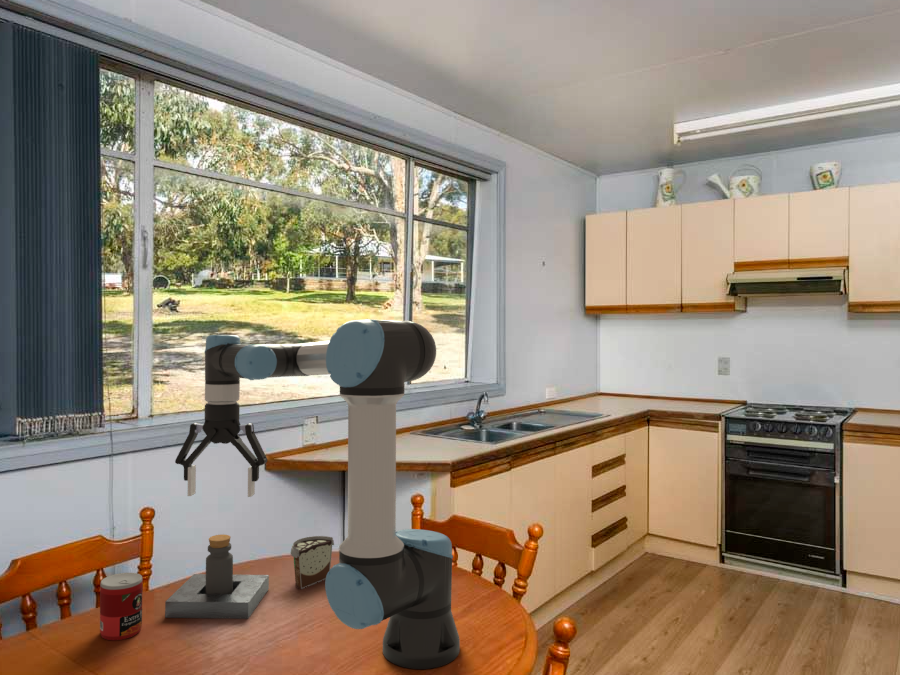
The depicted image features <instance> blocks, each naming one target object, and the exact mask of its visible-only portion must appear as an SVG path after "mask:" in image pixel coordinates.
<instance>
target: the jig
mask: <svg viewBox="0 0 900 675" xmlns="http://www.w3.org/2000/svg"><path fill="white" fill-rule="evenodd" d="M269 575H270V574H233V593H232V594H206V573H194V574H192V575H191V577H189V578H188V579H187V580H186V581H185V582H184V583H182V585H181V586H180V587H179V588H178V589H176V591H175V592H173V594H172V595H170V597H169V598H168V599H166V600H165V602H164V603H165V604H164V607H165V608H164V609H165V610H164V618H169V619H172V618H174V619H177V618H178V619H243V620H244V619H245V620H249V619H250V617H251V615H252V614H253V612H254V611H255V610H256V608H257V607H258V605H259V604H260V603H259V602H262V600H263V598H264V597H265V595H266V594H267V592H268V591H269V590H270V589H269V586H270V585H269V584H270V583H269V582H270V580H269V578H270V576H269ZM268 589H269V590H268Z"/></svg>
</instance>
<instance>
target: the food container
mask: <svg viewBox="0 0 900 675" xmlns="http://www.w3.org/2000/svg"><path fill="white" fill-rule="evenodd" d="M333 546H335V542H334V537H332V536H325V535H315V536H314V535H313V536H306V537H302V538H299V539H297V540H295V541H294V542H293V543H292V545H291V549H290V555H291V556H292V557H293V566H294V568H293V569H294V580H295V586H297V587H296V588H298V589H299V588H300V590H303V589H305V587H306V588H308V587H310V586H313V585H315V584H317V582H318V583H321V582H322V580H323V581H325V580H326V576H327V573H328V572H329V571H330V569H331V566H332V565H331V563H332V554H333V553H332V552H333ZM307 586H308V587H307Z"/></svg>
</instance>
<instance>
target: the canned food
mask: <svg viewBox="0 0 900 675" xmlns="http://www.w3.org/2000/svg"><path fill="white" fill-rule="evenodd" d="M99 587H100V588H99V590H100V591H99V632H100V636H101V638H102V639H104V640H107V641H122V640H127V639H129V638H132V637H134V636H136V635H137V634H139V633H140V632H141V629H142V627H143V575H141V574H140V573H138V572H122V573H120V572H119V573H115V574H112V575H108V576H105V577H104V578H103V579H101V581H100V585H99Z"/></svg>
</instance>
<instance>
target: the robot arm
mask: <svg viewBox="0 0 900 675" xmlns="http://www.w3.org/2000/svg"><path fill="white" fill-rule="evenodd" d="M436 357H437V345H436V342H435V339H434V337H433V335H432V333H431V332H430V331H429V330H428V329H427V328H426V327H425V326H423V325H421V324H419V323H418V322H413V321H410V320H387V319H385V320H384V319H371V318H370V319H369V318H366V319H355V320H349V321H346V322H345V323H342V324H341V325H340V326H339V327H338V328H336V331H335V332H334V333H333V334H332V336H331V337H330V339H329V340H323V341H315V342H313V341H312V342H303V343H302V342H301V343H300V342H299V343H287V344H286V343H285V344H279V343H276V344H275V343H272V344H270V343H269V344H268V343H266V344H265V343H261V344H259V343H257V344H254V343H252V344H251V343H249V344H247V343H246V344H243V343H241V338H240V336H239V335H235V334H210V335H208V336H207V337H206V339H205V350H204V382H205V383H204V401H205V402H206V403H205V404H204V423H203V424H202V423H199V422H194V423H191V424H190V425H189V433H188V435H187V436H186V439H185V441H184V443H183V445H182V447H181V448H180V450H179V452H178V454H177V456H176V458H175V460H174V462H175V465H181V466H182V467H183V481H185V482H186V481H187V497H192V496H193V495H196V482H197V481H196V478H197V477H196V474H197V473H196V472H197V469H196V468H197V467H196V466H197V465H195V464H194V462H195V461H196V460H197V459H198V458H199V456H200V455H201V454H203V452H204V450H205V449H207V448H208V446H209V445H210V444H211V443H213V444H214V445H215V444H216V445H217V444H224V445H225V444H229V443H230V444H231V445H232V446H234V447H235V449H236V450H238V452H239V453H240V454H241V456H242V457H243V458H244V459H245V461H246V462H247V463H248V464H249V465H250V466H249V467H248V468H247V498H251V497H253V496H254V495H255V490H256V489H255V488H256V482H258V480H259V479H260V466H263V465H265V464H266V463H267V462H268V458H267V456H266V454H265V451H264V450H263V447H262V445H261V443H260V441H259V440H258V437H257V436H256V435H257V434H256V432H255V427H254V423H252V422H249V423H245V424H241V422H240V404H239V402H238V401H239V400H240V391H241V390H240V388H241V387H240V386H241V385H240V381H241V379H246V380H250V381H257V380H265V379H268V378H280V377H283V378H284V377H285V378H286V377H309V376H319V375H321V376H322V375H323V376H324V375H329V378H330V379H331V380H332V381H333V383H335V384H336V385H338V386H339V396H340V397H341V398H342V399H343V400H344V401H345V402H346V404H347V408H348V409H347V413H348V414H347V416H348V417H347V418H348V420H347V423H348V424H347V428H348V429H347V430H348V431H347V537H346V538H345V539H344V540H343V541H342V542H341V543H340V544H339V549H338V550H339V552H338V555H339V556H338V558H339V559H338V561H339V562H338V563H337V564H334V565H333V566H332V567H330V571H329V572H328V573H327V576H326V579H325V580H324V581H325V582H324V584H325V585H324V586H325V587H324V588H325V595H326V598H327V599H326V600H327V602H328V604H329V606H330V608H331V610H332V611H333V612H334V614H335V616H336V618H337V619H338V620H339V621H340V622H341V623H342V624H344V626H345V625H346V627H349V628H351V629H354V630H363V629H366V628H369V627H371V626H377V625H379V624H380V623H382V622H383V621H385V620H387V619H388V622H387V626H386V628H385V631H384V635H383V638H382V654H383V656H384V658H385V659H386V660H387V661H389V662H390V663H392V664H394V665H395V666H398V667H401V668H405V669H415V670H426V669H427V670H428V669H435V668H440V667H443V666H445V665H448V664H450V663H451V662H453V661H454V660H455V659H456V658H457V657H458V656H459V654H460V647H461V646H460V643H461V642H460V639H461V638H460V635H459V633H458V629H457V626H456V623H455V619H454V617H453V616H454V615H453V612H452V591H453V590H452V586H453V585H452V584H453V582H452V581H453V578H452V577H453V573H452V572H453V559H454V555H453V548H452V547H453V545H452V541H451V539H450V538H449V537H448V535H445V534H443V533H441V532H439V531H433V530H428V529H416V528H405V529H400V530H399V529H398V530H397V528H396V526H397V523H396V522H397V521H396V520H397V518H396V513H397V506H396V505H397V503H396V501H397V499H396V498H397V487H396V486H397V482H396V481H397V473H396V472H397V403H398V402H399V401H400V400H401V399H402V398H403V397H404V396H405V383H407V382H408V383H409V382H412V381H416V380H418V379H421V378H422V377H424V376H426V375H427V374H428V372H429V371H430V370H431V369H432V368H433V366H434V365H435V364H434V363H435V361H436ZM202 431H203V433H204V434H205V437H204V438H203V439H202V440H201V442H200V443H199V444H198V446H197V447H195V449H194V450H193V451H192V453H191V454H190V455H189V452H190V450H191V448H192V447H193V445H194V442H195V440H196V439H197V437H198V435H199V433H201V432H202ZM241 431H242V433H243V434H244V435H245V436H246V438H247V441H248V443H249V444H250V447H251V449H252V451H253V453H252V451H251V450H250V448H249V447H248V446H247V445H246V443H244V442H243V439H242V437H240V435H239V433H240V432H241ZM396 530H397V531H396Z"/></svg>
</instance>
